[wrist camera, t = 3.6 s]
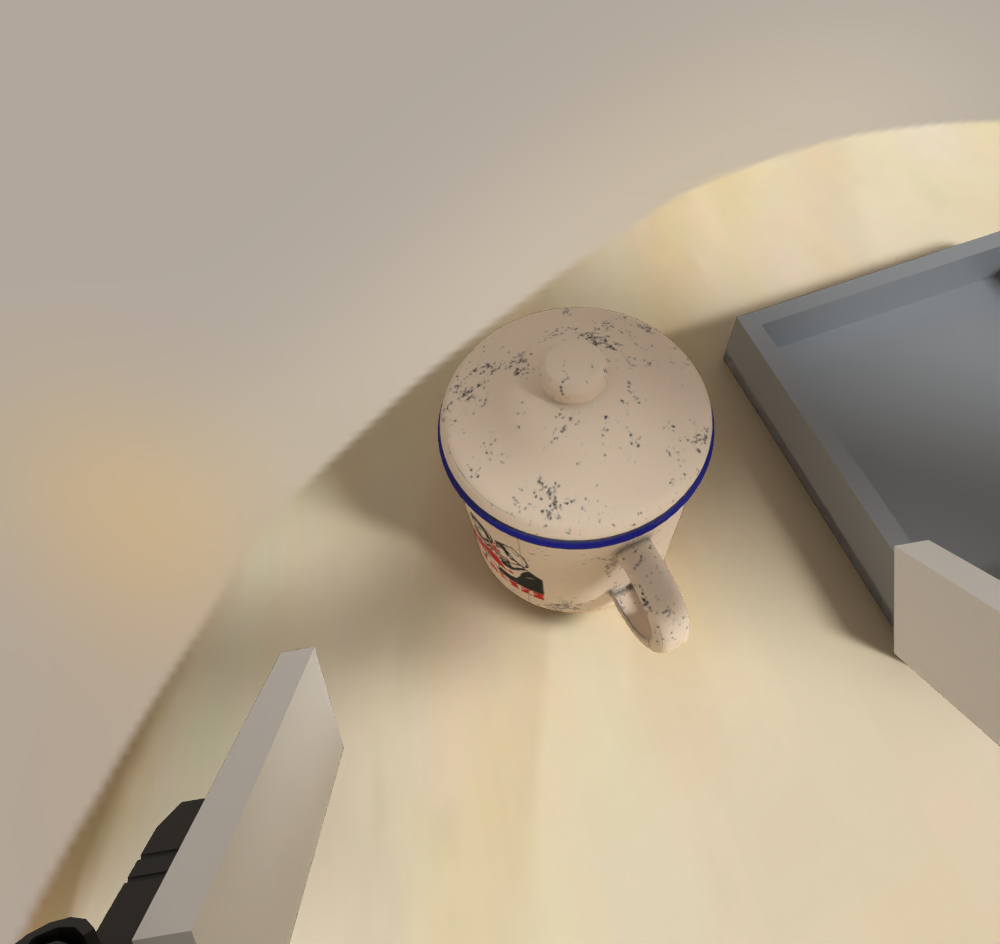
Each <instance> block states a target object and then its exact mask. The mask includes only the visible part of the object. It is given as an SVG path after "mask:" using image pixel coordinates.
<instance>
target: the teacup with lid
mask: <svg viewBox="0 0 1000 944" xmlns="http://www.w3.org/2000/svg"><path fill="white" fill-rule="evenodd" d="M438 442H439V449H440V454H441V458H442V462H443V465H444V467H445V470H446V473H447V475H448V477H449V479H450V481H451V483H452V485H453V486H454V488H455V489H456V491H457V492H458V494H459V495H460V497H461V498H462V499H463V501H464V503H465V506H466V509H467V512H468V515H469V518H470V521H471V524H472V527H473V530H474V533H475V536H476V538H477V541H478V544H479V547H480V550H481V552H482V555H483V557H484V559H485V561H486V563H487V565H488V566H489V568H490V569H491V571H492V572H493V573H494V575H495V576H496V577H497V578H498V579H499V580H500V581H501V582H502V583H503V584H504V585H505V586H506V587H507V588H508V589H509V590H510V591H512V592H513V593H514V594H516V595H517V596H519V597H520V598H522V599H524V600H526V601H528V602H530V603H532V604H535V605H537V606H539V607H543V608H546V609H550V610H555V611H560V612H590V611H595V610H600V609H603V608H607V607H610V606H612V605H616V607H617V609H618V610H619V612H620V614H621V615H622V617H623V619H624V620H625V622H626V624H627V625H628V627H629V628H630V629H631V631H632V632H633V634H634V635H635V636H636V637H637V638H638V639H639V641H640V642H641V643H643V644H644V645H645V646H646V647H647V648H649V649H650V650H652V651H654V652H658V653H665V652H668V651H671V650H673V649H675V648H677V647H679V646H681V645H682V644H683V643H684V642H685V641H686V640H687V638H688V635H689V629H690V627H689V617H688V613H687V610H686V607H685V604H684V601H683V598H682V596H681V593H680V591H679V589H678V586H677V584H676V582H675V580H674V578H673V576H672V574H671V573H670V571H669V569H668V567H667V565H666V564H665V562H664V558H665V556H666V553H667V551H668V548H669V545H670V543H671V540H672V537H673V535H674V532H675V529H676V527H677V524H678V521H679V519H680V516H681V513H682V511H683V508H684V505H685V503H686V502H687V501H688V499H689V498H690V497H691V496H692V494H693V493H694V492H695V490H696V489H697V487H698V485H699V484H700V482H701V480H702V478H703V476H704V474H705V472H706V470H707V467H708V464H709V461H710V458H711V454H712V449H713V442H714V418H713V411H712V407H711V403H710V399H709V396H708V393H707V390H706V387H705V385H704V382H703V380H702V378H701V376H700V375H699V373H698V371H697V369H696V368H695V366H694V365H693V363H692V362H691V361H690V359H689V358H688V357H687V356H686V355H685V353H684V352H683V351H682V350H681V349H680V348H679V347H678V346H677V345H676V344H675V343H674V342H673V341H671V340H670V339H669V338H668V337H666V336H665V335H664V334H662V333H661V332H659V331H658V330H656V329H655V328H653V327H651V326H649V325H648V324H646V323H644V322H642V321H639V320H637V319H635V318H632V317H629V316H627V315H624V314H620V313H617V312H613V311H608V310H603V309H595V308H582V307H572V308H559V309H551V310H546V311H541V312H537V313H534V314H530V315H527V316H524V317H522V318H519V319H517V320H514V321H512V322H510V323H508V324H506V325H504V326H503V327H501V328H499V329H497V330H496V331H494V332H493V333H491V334H490V335H488V336H487V337H486V338H485V339H483V340H482V341H481V342H480V343H479V344H478V345H477V346H476V347H475V348H474V349H472V350H471V352H470V353H469V354H468V355H467V356H466V357H465V358H464V360H463V361H462V362H461V364H460V365H459V367H458V368H457V369H456V371H455V373H454V375H453V376H452V378H451V380H450V382H449V385H448V387H447V389H446V392H445V395H444V398H443V402H442V405H441V409H440V414H439V422H438Z"/></svg>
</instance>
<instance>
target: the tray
mask: <svg viewBox="0 0 1000 944" xmlns="http://www.w3.org/2000/svg"><path fill="white" fill-rule="evenodd" d="M723 358H724V360H725V362H726V363H727V365H728V366H729V368H730V369H731V371H732V373H733V374H734V376H735V377H736V379H737V381H738V382H739V384H740V385H741V387H742V389H743V390H744V392H745V393H746V395H747V396H748V398H749V400H750V401H751V403H752V404H753V406H754V408H755V409H756V411H757V412H758V414H759V416H760V417H761V419H762V420H763V422H764V423H765V425H766V427H767V428H768V430H769V431H770V433H771V435H772V436H773V438H774V439H775V441H776V443H777V444H778V446H779V447H780V449H781V450H782V452H783V454H784V455H785V457H786V458H787V460H788V462H789V463H790V465H791V466H792V468H793V470H794V471H795V473H796V474H797V476H798V477H799V479H800V481H801V482H802V484H803V485H804V487H805V489H806V490H807V492H808V493H809V495H810V497H811V498H812V500H813V501H814V503H815V505H816V506H817V508H818V509H819V511H820V512H821V514H822V516H823V517H824V519H825V520H826V522H827V524H828V525H829V527H830V528H831V530H832V532H833V533H834V535H835V536H836V538H837V539H838V541H839V543H840V544H841V546H842V547H843V549H844V551H845V552H846V554H847V555H848V557H849V559H850V560H851V562H852V563H853V565H854V566H855V568H856V570H857V571H858V573H859V574H860V576H861V578H862V579H863V581H864V582H865V584H866V586H867V587H868V589H869V590H870V592H871V593H872V595H873V597H874V598H875V600H876V601H877V603H878V605H879V606H880V608H881V609H882V611H883V613H884V614H885V616H886V617H887V619H888V620H889V622H890V624H891V625H892V627H893V628H894V546H896V545H902V544H908V543H914V542H919V541H925V540H930V541H931V542H933V543H935V544H937V545H938V546H940V547H942V548H944V549H945V550H947V551H949V552H951V553H953V554H954V555H956V556H958V557H960V558H961V559H963V560H965V561H967V562H968V563H970V564H972V565H974V566H976V567H977V568H979V569H981V570H983V571H984V572H986V573H988V574H990V575H991V576H993V577H995V578H997V579H998V580H1000V231H999V232H996V233H993V234H990V235H987V236H984V237H981V238H978V239H975V240H971V241H968V242H965V243H962V244H959V245H956V246H953V247H950V248H947V249H944V250H941V251H938V252H935V253H932V254H929V255H926V256H923V257H920V258H917V259H913V260H910V261H907V262H904V263H901V264H898V265H895V266H892V267H889V268H886V269H883V270H880V271H877V272H874V273H871V274H868V275H865V276H862V277H859V278H856V279H852V280H849V281H846V282H843V283H840V284H837V285H834V286H831V287H828V288H825V289H822V290H819V291H816V292H813V293H810V294H807V295H804V296H801V297H798V298H794V299H791V300H788V301H785V302H782V303H779V304H776V305H773V306H770V307H767V308H764V309H761V310H758V311H755V312H752V313H749V314H746V315H743V316H740V317H737V319H736V322H735V324H734V327H733V330H732V333H731V336H730V339H729V342H728V345H727V348H726V351H725V354H724V357H723Z"/></svg>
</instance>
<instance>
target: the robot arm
mask: <svg viewBox="0 0 1000 944" xmlns="http://www.w3.org/2000/svg"><path fill="white" fill-rule="evenodd" d="M894 654H896V655H897V656H898V657H899V658H900V659H901V660H902V661H904V662H905V663H906V664H907V665H908V666H909V667H910V668H911V669H913V670H914V671H915V672H916V673H917V674H918V675H919V676H921V677H922V678H923V679H924V680H925V681H926V682H927V683H928V684H930V685H931V686H932V687H933V688H934V689H935V690H936V691H938V692H939V693H940V694H941V695H942V696H943V697H944V698H945V699H947V700H948V701H949V702H950V703H951V704H952V705H953V706H955V707H956V708H957V709H958V710H959V711H960V712H961V713H962V714H964V715H965V716H966V717H967V718H968V719H969V720H970V721H972V722H973V723H974V724H975V725H976V726H977V727H978V728H980V729H981V730H982V731H983V732H984V733H985V734H986V735H987V736H989V737H990V738H991V739H992V740H993V741H994V742H995V743H997V744H998V745H999V746H1000V580H998V579H997V578H995V577H993V576H991V575H990V574H988V573H986V572H984V571H983V570H981V569H979V568H977V567H976V566H974V565H972V564H970V563H968V562H967V561H965V560H963V559H961V558H960V557H958V556H956V555H954V554H953V553H951V552H949V551H947V550H945V549H944V548H942V547H940V546H938V545H937V544H935V543H933V542H931V541H930V540H925V541H919V542H914V543H908V544H902V545H896V546H894ZM343 749H344V747H343V744H342V740H341V737H340V733H339V730H338V726H337V723H336V719H335V716H334V712H333V709H332V705H331V702H330V698H329V695H328V692H327V688H326V685H325V681H324V678H323V674H322V671H321V667H320V664H319V660H318V657H317V653H316V650H315V647H310V648H304V649H298V650H292V651H287V652H281V654H280V655H279V657H278V659H277V661H276V663H275V665H274V667H273V669H272V671H271V673H270V675H269V677H268V679H267V681H266V682H265V684H264V686H263V688H262V690H261V692H260V694H259V696H258V698H257V700H256V702H255V704H254V706H253V708H252V709H251V711H250V713H249V715H248V717H247V719H246V721H245V723H244V725H243V727H242V729H241V731H240V733H239V735H238V736H237V738H236V740H235V742H234V744H233V746H232V748H231V750H230V752H229V754H228V756H227V758H226V760H225V762H224V763H223V765H222V767H221V769H220V771H219V773H218V775H217V777H216V779H215V781H214V783H213V785H212V787H211V789H210V790H209V792H208V794H207V796H206V798H204V799H198V800H192V801H186V802H181V803H180V804H179V805H178V806H177V807H176V808H175V810H174V811H173V812H172V813H171V814H170V815H169V816H168V817H167V818H166V819H165V820H164V821H163V822H162V823H161V824H160V825H159V826H158V827H157V828H156V830H155V831H154V833H153V835H152V837H151V838H150V840H149V842H148V843H147V845H146V847H145V849H144V850H143V852H142V854H141V860H138V861H137V862H136V864H135V866H134V868H133V869H132V871H131V873H130V874H129V876H128V882H127V883H124V885H123V887H122V888H121V890H120V892H119V893H118V895H117V897H116V899H115V900H114V902H113V904H112V906H111V907H110V909H109V911H108V912H107V914H106V916H105V918H104V919H103V921H102V923H101V925H100V926H99V928H98V930H97V931H95V929H94V928H93V926H92V925H91V924H90V923H89V922H88V921H87V920H86V919H81V918H73V917H69V918H66V919H62V920H58V921H54V922H50V923H48V924H46V925H45V926H43V927H41V928H39V929H37V930H35V931H33V932H31V933H29V934H27V935H26V936H25V937H23V938H22V939H21V940H19V941H18V942H17V943H16V944H289V943H290V940H291V936H292V932H293V929H294V925H295V922H296V918H297V914H298V911H299V907H300V904H301V900H302V896H303V893H304V889H305V886H306V882H307V878H308V875H309V871H310V868H311V864H312V860H313V857H314V853H315V850H316V846H317V842H318V839H319V835H320V832H321V828H322V824H323V821H324V817H325V814H326V810H327V806H328V803H329V799H330V795H331V792H332V788H333V785H334V781H335V777H336V774H337V770H338V767H339V763H340V759H341V756H342V752H343Z"/></svg>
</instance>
